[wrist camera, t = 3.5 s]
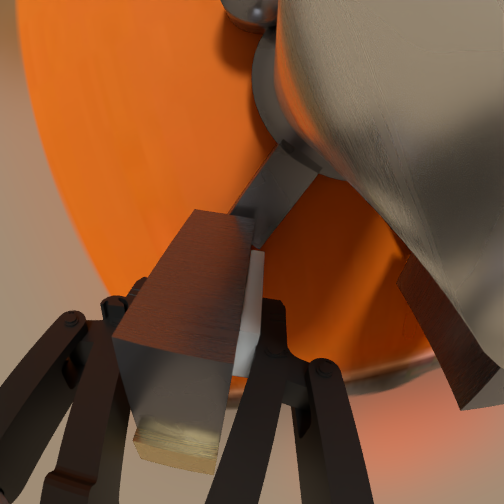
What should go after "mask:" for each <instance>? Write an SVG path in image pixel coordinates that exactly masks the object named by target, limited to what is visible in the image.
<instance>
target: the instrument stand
mask: <svg viewBox="0 0 504 504" xmlns="http://www.w3.org/2000/svg"><path fill="white" fill-rule="evenodd" d="M221 2H222V4H223V6H224V8H225V10H226V12H227V15H228V17H229V18H230V20H231V21H232V22H233V24H235V25H236V26H237V27H238V28H240V29H242V30H244V31H246V32H250V33H254V34H263V36H262V38H261V40H260V41H259V44H258V46H257V49H256V52H255V55H254V60H253V65H252V88H253V94H254V99H255V103H256V106H257V109H258V111H259V114H260V117H261V119H262V121H263V122H264V124H265V126H266V128H267V130H268V131H269V132H270V134H271V135H272V137H273V138H274V140H275V141H276V142H277V145H276V146H275V147H274V149H273V150H272V151H271V153H270V154H269V156H268V157H267V158H266V160H265V161H264V163H263V164H262V165H261V167H260V168H259V169H258V171H257V172H256V174H255V175H254V177H253V178H252V179H251V181H250V182H249V184H248V185H247V186H246V188H245V189H244V191H243V192H242V194H241V195H240V196H239V198H238V199H237V201H236V202H235V204H234V205H233V207H232V208H231V209H230V211H229V212H228V215H234V216H241V217H247V218H252V219H255V222H254V229H253V236H252V243H251V245H253V246H254V247H256V248H258V249H260V248H261V247H262V245H263V244H264V243H265V242H266V240H267V239H268V238H269V236H270V235H271V234H272V233H273V231H274V230H275V229H276V228H277V226H278V225H279V224H280V222H281V221H282V220H283V219H284V217H285V216H286V215H287V213H288V212H289V211H290V210H291V208H292V207H293V206H294V204H295V203H296V202H297V201H298V199H299V198H300V197H301V195H302V194H303V193H304V192H305V190H306V189H307V188H308V186H309V185H310V184H311V183H312V181H313V180H314V179H315V177H316V176H317V175H318V174H322V175H324V176H327V177H330V178H334V179H338V180H344V181H348V182H349V183H350V184H351V185H352V186H353V187H354V188H355V189H356V190H357V192H358V193H359V194H360V195H361V196H362V197H363V198H364V199H365V200H366V201H367V202H368V203H369V204H370V205H371V206H372V207H373V208H374V209H375V210H376V211H377V212H378V214H379V215H380V216H381V217H382V218H383V219H384V220H385V221H386V222H387V223H388V225H389V226H390V227H391V228H392V229H393V230H394V231H395V232H396V234H397V235H398V236H399V237H400V238H401V239H402V241H403V242H404V243H405V244H406V245H407V246H408V248H409V249H410V250H411V251H412V252H413V254H414V255H415V256H416V257H417V258H418V260H419V261H420V262H421V263H422V265H423V266H424V267H425V268H426V270H427V271H428V272H429V273H430V275H431V276H432V277H433V279H434V280H435V281H436V283H437V284H438V285H439V287H440V288H441V289H442V291H443V292H444V293H445V295H446V296H447V297H448V299H449V300H450V302H451V303H452V304H453V306H454V307H455V309H456V310H457V311H458V313H459V314H460V316H461V317H462V319H463V320H464V322H465V323H466V325H467V326H468V328H469V329H470V331H471V332H472V334H473V335H474V337H475V338H476V340H477V342H478V343H479V345H480V346H481V348H482V350H483V351H484V353H486V354H487V355H488V356H489V357H490V358H491V359H492V360H493V361H494V362H495V363H496V364H497V365H498V366H500V367H501V368H503V369H504V0H221Z"/></svg>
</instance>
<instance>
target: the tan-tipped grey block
mask: <svg viewBox="0 0 504 504" xmlns="http://www.w3.org/2000/svg"><path fill="white" fill-rule="evenodd" d="M254 222H255V219H252V218H247V217H241V216H234V215H228V214H222V213H216V212H209V211H203V210H197V209H195V210H194V211H193V212H192V214H191V215H190V217H189V218H188V219H187V221H186V222H185V224H184V225H183V226H182V228H181V229H180V231H179V232H178V234H177V235H176V236H175V238H174V239H173V241H172V242H171V244H170V245H169V247H168V248H167V250H166V251H165V252H164V254H163V255H162V257H161V258H160V260H159V261H158V263H157V264H156V266H155V267H154V269H153V270H152V272H151V274H150V275H149V277H148V278H147V280H146V281H145V283H144V284H143V286H142V287H141V289H140V291H139V292H138V294H137V295H136V297H135V298H134V300H133V302H132V303H131V305H130V307H129V308H128V310H127V311H126V313H125V315H124V316H123V318H122V320H121V321H120V323H119V325H118V326H117V328H116V330H115V331H114V333H113V335H112V336H111V337H112V341H113V346H114V350H115V354H116V358H117V362H118V366H119V370H120V374H121V378H122V381H123V385H124V388H125V392H126V395H127V398H128V402H129V405H130V408H131V411H132V414H133V417H134V420H135V423H136V426H137V429H136V432H135V435H134V438H133V442H134V445H135V447H136V449H137V451H138V453H139V455H140V458H141V459H144V460H147V461H151V462H155V463H158V464H163V465H167V466H170V467H174V468H179V469H184V470H188V471H193V472H198V473H204V474H210V475H214V471H215V466H216V460H217V454H218V447H219V442H220V436H221V430H222V425H223V420H224V415H225V410H226V404H227V399H228V394H229V388H230V383H231V378H232V372H233V367H234V361H235V354H236V347H237V340H238V333H239V326H240V319H241V312H242V305H243V298H244V291H245V284H246V278H247V271H248V265H249V257H250V250H251V243H252V236H253V229H254Z"/></svg>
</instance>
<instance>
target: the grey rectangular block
mask: <svg viewBox="0 0 504 504" xmlns="http://www.w3.org/2000/svg"><path fill="white" fill-rule="evenodd" d="M396 284H397V285H398V287H399V289H400V291H401V292H402V294H403V296H404V297H405V299H406V301H407V303H408V304H409V306H410V308H411V310H412V311H413V313H414V315H415V317H416V319H417V320H418V322H419V324H420V326H421V328H422V330H423V332H424V334H425V335H426V337H427V339H428V341H429V343H430V345H431V347H432V349H433V351H434V353H435V355H436V357H437V359H438V361H439V363H440V365H441V368H442V370H443V372H444V374H445V376H446V378H447V380H448V383H449V385H450V387H451V389H452V392H453V394H454V396H455V399H456V401H457V403H458V406H459V408H460V410H461V411H462V410H470V409H477V408H484V407H490V406H495V405H500V404H504V369H503V368H501V367H500V366H498V365H497V364H496V363H495V362H494V361H493V360H492V359H491V358H490V357H489V356H488V355H487V354H486V353H484V351H483V350H482V348H481V346H480V345H479V343H478V342H477V340H476V338H475V337H474V335H473V334H472V332H471V331H470V329H469V328H468V326H467V325H466V323H465V322H464V320H463V319H462V317H461V316H460V314H459V313H458V311H457V310H456V309H455V307H454V306H453V304H452V303H451V302H450V300H449V299H448V297H447V296H446V295H445V293H444V292H443V291H442V289H441V288H440V287H439V285H438V284H437V283H436V281H435V280H434V279H433V277H432V276H431V275H430V273H429V272H428V271H427V270H426V268H425V267H424V266H423V265H422V263H421V262H420V261H419V260H418V258H417V257H416V256H415V255H414V254H413V252H412V253H411V255H410V257H409V259H408V261H407V263H406V265H405V267H404V269H403V271H402V273H401V275H400V277H399V279H398V281H397V283H396Z"/></svg>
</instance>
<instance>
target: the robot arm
mask: <svg viewBox="0 0 504 504" xmlns="http://www.w3.org/2000/svg"><path fill="white" fill-rule="evenodd" d="M264 256H265V252H263V251H257V250H251V253H250V259H249V265H248V271H247V278H246V284H245V291H244V298H243V305H242V312H241V319H240V326H239V333H238V340H237V347H236V354H235V361H234V367H233V372H232V375H233V376H240V377H246V378H248V380H247V383H246V386H245V389H244V392H243V395H242V398H241V401H240V404H239V407H238V410H237V413H236V417H235V419H234V422H233V425H232V428H231V431H230V434H229V437H228V440H227V443H226V446H225V449H224V452H223V455H222V457H221V460H220V463H219V466H218V469H217V472H216V474H215V477H214V480H213V483H212V485H211V488H210V491H209V494H208V496H207V499H206V502H205V504H258V501H259V498H260V494H261V490H262V486H263V482H264V478H265V474H266V470H267V466H268V462H269V457H270V453H271V449H272V445H273V441H274V436H275V431H276V427H277V422H278V418H279V413H280V408H281V403H284V404H287V405H289V406H291V410H292V419H293V427H294V435H295V444H296V453H297V462H298V471H299V481H300V490H301V499H302V504H374V502H373V497H372V492H371V488H370V483H369V479H368V474H367V470H366V466H365V461H364V458H363V453H362V449H361V445H360V441H359V437H358V433H357V429H356V425H355V421H354V418H353V414H352V410H351V406H350V403H349V399H348V395H347V392H346V388H345V385H344V381H343V378H342V374H341V371H340V369H339V367H338V365H337V364H335V363H334V362H333V361H331V360H329V359H325V358H317V359H314V360H313V361H311V363H309V362H306V361H304V360H301V359H299V358H297V357H295V356H294V355H293V354H292V353H291V352H290V350H289V349H288V347H287V332H286V310H285V306H284V305H283V303H282V302H281V301H280V300H274V299H268V298H262V293H263V275H264ZM146 280H147V277H143V278H141V279H140V280H138V281H136V283H135V284H134V286H133V287H132V289H131V290H130V292H129V294H128V295H127V296H126V297H123V296H110V297H107V298H106V299H104V300H103V301H102V302H101V303H100V304H101V310H102V315H103V320H86V318H85V316H84V314H82V313H81V312H79V311H68V312H65V313H63V314H62V315H61V316H60V317H59V318H58V319H57V320H56V321H55V322H54V323H53V324H52V325H51V326H50V328H49V329H48V330H47V331H46V332H45V333H44V334H43V335H42V337H41V338H40V339H39V340H38V341H37V342H36V344H35V345H34V346H33V347H32V348H31V349H30V351H29V352H28V353H27V354H26V355H25V356H24V358H23V359H22V360H21V362H20V363H19V364H18V365H17V366H16V368H15V369H14V370H13V371H12V373H11V374H10V375H9V376H8V378H7V379H6V380H5V381H4V383H3V384H2V385H1V387H0V504H12V503H13V502H14V501H15V499H16V498H17V497H18V496H19V494H20V493H21V492H22V490H23V488H24V487H25V485H26V483H27V481H28V479H29V477H30V476H31V474H32V472H33V470H34V468H35V466H36V464H37V462H38V461H39V459H40V457H41V455H42V453H43V451H44V450H45V448H46V446H47V445H48V443H49V441H50V439H51V437H52V436H53V434H54V432H55V431H56V429H57V427H58V426H59V424H60V422H61V421H62V419H63V417H64V416H65V414H66V412H67V411H68V409H69V407H70V406H71V404H72V403H73V404H72V407H71V410H70V414H69V417H68V421H67V424H66V428H65V432H64V435H63V440H62V443H61V447H60V451H59V456H58V460H57V464H56V467H55V469H54V471H52V472H49V473H48V474H47V476H46V477H45V480H44V484H43V489H42V494H41V501H40V504H119V488H120V479H121V470H122V462H123V454H124V447H125V440H126V434H127V427H128V421H129V415H130V409H131V408H130V405H129V402H128V398H127V395H126V392H125V388H124V385H123V381H122V378H121V374H120V370H119V366H118V362H117V358H116V354H115V350H114V346H113V341H112V337H111V336H112V335H113V333H114V331H115V330H116V328H117V326H118V325H119V323H120V321H121V320H122V318H123V316H124V315H125V313H126V311H127V310H128V308H129V307H130V305H131V303H132V302H133V300H134V298H135V297H136V295H137V294H138V292H139V291H140V289H141V287H142V286H143V284H144V283H145V281H146Z"/></svg>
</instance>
